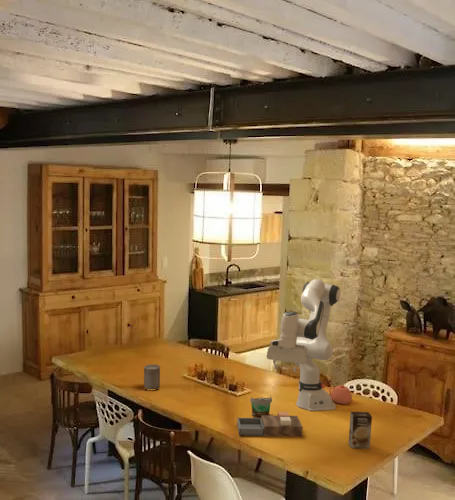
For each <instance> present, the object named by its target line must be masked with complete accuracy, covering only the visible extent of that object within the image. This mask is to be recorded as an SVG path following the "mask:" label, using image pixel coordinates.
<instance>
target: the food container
mask: <svg viewBox="0 0 455 500" xmlns="http://www.w3.org/2000/svg"><path fill="white" fill-rule="evenodd" d="M272 398H273V397H272V396H270V397H257V398H254V397H252V396H251V397H250V400H249V402H251V403H250V404H251V415H252V416H253V417H254V418H261V415H270V409H271V403H272V402H273V399H272Z"/></svg>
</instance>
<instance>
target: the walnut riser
mask: <svg viewBox="0 0 455 500" xmlns="http://www.w3.org/2000/svg"><path fill="white" fill-rule="evenodd" d="M289 417H290V419H291V425H281V424H280V420H279V418H278V415H270V414H269V415H261V419H262V422H263V425H264V429H265V432H264V436H263V437H303V424H302V423H301V420H300V418H299V416H298V415H289Z"/></svg>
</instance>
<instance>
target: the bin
mask: <svg viewBox="0 0 455 500" xmlns="http://www.w3.org/2000/svg"><path fill="white" fill-rule="evenodd" d="M236 419H237V421H236V422H237V423H236V427H237V431H238V436H239V435H244V436H243V437H265V436H264V432H265V429H264V425H263V422H262V419H261V418H259V417H237V418H236ZM245 435H247V436H245Z"/></svg>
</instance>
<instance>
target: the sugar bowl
mask: <svg viewBox="0 0 455 500" xmlns="http://www.w3.org/2000/svg"><path fill="white" fill-rule="evenodd" d="M328 390H329V392H328V393H329V394H330V396H331V399H332V402H333V403H334V404H343V405H347V404H349V403H351V402H352V400H353V396H352V395H353V394H352V393H351V391H350V388H348V387H347V386H345V384H340V385H336V386H335V387H333V386H332V387H329V389H328ZM331 391H332V392H331Z"/></svg>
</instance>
